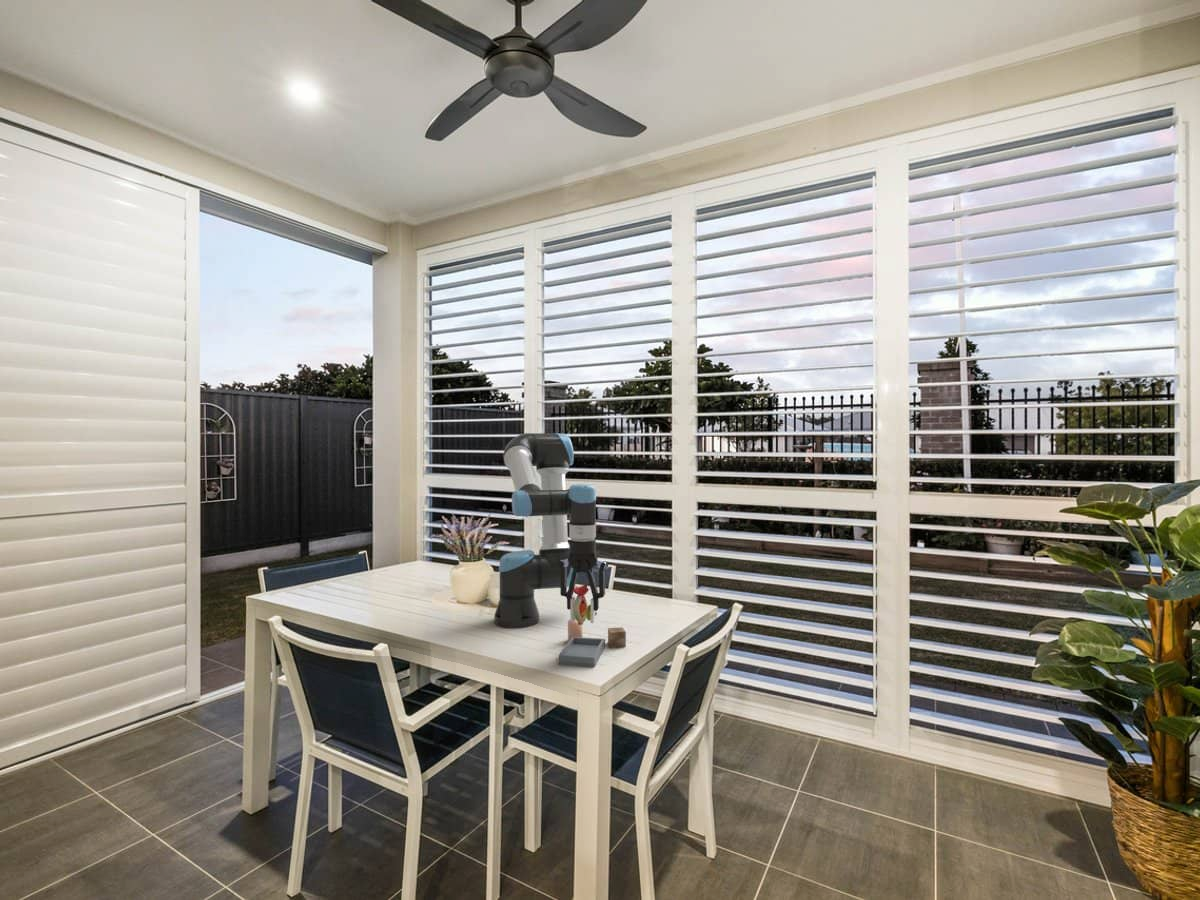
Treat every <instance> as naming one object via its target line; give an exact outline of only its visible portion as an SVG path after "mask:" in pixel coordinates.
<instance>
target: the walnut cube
mask: <svg viewBox="0 0 1200 900" xmlns="http://www.w3.org/2000/svg"><path fill="white" fill-rule="evenodd" d="M626 634H627V632H626V630H625V629H624V627H608V628H607V643H608V645H609V647H610V648H625V647H627V646H626V645H627V644H626V643H627V642H626V641H627V640H626V639H627V635H626Z"/></svg>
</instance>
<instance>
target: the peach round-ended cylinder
mask: <svg viewBox="0 0 1200 900" xmlns="http://www.w3.org/2000/svg"><path fill="white" fill-rule="evenodd" d="M572 637H583V624H582V625H579V624H578V622H577V620H576V619H575V621H574V622H571V619H568V621H567V643H568V642H569V640H570V639H571V638H572Z"/></svg>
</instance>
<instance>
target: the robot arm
mask: <svg viewBox="0 0 1200 900" xmlns="http://www.w3.org/2000/svg"><path fill="white" fill-rule="evenodd" d="M502 456H503V462H504V465H505V466H506V468H507V469H508V470H509V473H510V476H511V480H512V483H513V487H514V490H515V491H513V493H512V494H511V507H512V508H511V510H512V515H514V516H515V517H525V518H528V517H542V540H543V541H542V543H543V544H542V545H541V546H540V548H539V549H538V551H539V552H538V553H539V554H535V553H534V551H533V550H531V549H529V550H527V549H525V550H517V551H516V550H515V551H511V552H508V553H505V554H504V555H502V556H501V558H500V559H499V567H498V572H499V599H498V603H497V606H496V608H495V612H494V616H493V619H494V621H493V622H494V624H495V625H496V626H499V627H503V628H510V629H511V628H514V629H515V628H516V629H517V628H525V627H526V628H527V627H531V626H533V625H534V626H535V625H537V624H538V623H539V622H540V612H539V609H538V607H537V606H538V605H537V603H536V600H535V590H544V589H545V590H546V589H548V590H549V589H560V596H561V597H565V598H566V608H567V610H570V620H571V622H574V621H575V616H574V602H575V599H576V596H574V591H573V589H574V588H575V587H576V583H577V580H578V576H579V573H580V574H581V573H585V574H586V577H587V579H588V584H589V587H590V591H591V595H592V597H591V598H590V604H591V620H590V624H594V623H595V622H596V616H595V611H596V612H597V611H598V610H599V606H600V605H599V604H600V601H599V600H600V599H602V598H604V597H605V595H606V575H605V574H606V573H605V570H606V567H607V563H608V562H607V561H605V560H603V561H602V560H601V559H598V556H597V541H596V539H595V538H596V537H597V532H596V531H597V518H596V515H597V513H596V512H597V511H596V510H597V509H596V508H597V504H596V503H597V493H596V487H595V485H593V484H585V483H583V484H580V483H579V484H572V485H570V486H569V488H568V489H567V488H566V475H567V473H568V472H569V471H570V466H573V464H574V446H573V442H572V440H571V438H570V437H569V436H568V434H566V433H557V432H554V433H553V432H551V433H549V432H548V433H547V432H545V433H544V432H540V433H536V432H535V433H530V432H525V433H521V434H519V435H517V436H515V437H513V438H512V439H510V441H509V442H508V443H507V444H506V446H505V448H504V450H503V455H502ZM534 467H536V469H534ZM535 470H536V471H535ZM536 473H537V474H538V475H539V476H540V482H541V483H539V481H538V477H537V475H536ZM568 516H569V522H568ZM568 524H569V528H568ZM568 529H569V530H568ZM568 531H569V533H568ZM568 534H569V535H568ZM568 537H569V538H570V540H569V538H568ZM568 541H569V542H568ZM596 565H597V569H598V587H599V588H598V587H597V582H596V579H595V575H594V569H593V568H594V567H595V566H596ZM567 588H568V589H567Z"/></svg>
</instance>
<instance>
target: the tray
mask: <svg viewBox="0 0 1200 900" xmlns="http://www.w3.org/2000/svg"><path fill="white" fill-rule="evenodd" d="M605 648H606V638H597V637H583V636H582V637H572V638H571V639H570V640H569V642H568V641H567V643H566V645H565V646H564V647H563V648H562V650H561V651H560V653H559V654H558V665H561V666H562V665H563V666H575V667H590V668H595V667H596V666H597V663H598V661H599V659H600V658H601V656H602V654H603V652H604V650H605Z"/></svg>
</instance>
